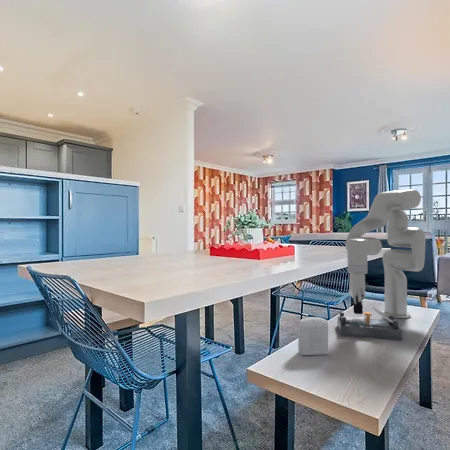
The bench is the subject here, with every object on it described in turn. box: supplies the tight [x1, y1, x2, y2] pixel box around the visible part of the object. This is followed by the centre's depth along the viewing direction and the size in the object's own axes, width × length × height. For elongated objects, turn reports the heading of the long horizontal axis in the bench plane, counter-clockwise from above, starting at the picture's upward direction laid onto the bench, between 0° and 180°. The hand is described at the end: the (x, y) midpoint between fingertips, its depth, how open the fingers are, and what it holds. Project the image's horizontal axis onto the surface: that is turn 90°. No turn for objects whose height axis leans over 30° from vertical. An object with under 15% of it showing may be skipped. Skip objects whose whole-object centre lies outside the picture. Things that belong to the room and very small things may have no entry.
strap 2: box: [372, 306, 395, 324], centre depth 125 cm, size 9×5×1 cm
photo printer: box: [297, 316, 329, 356], centre depth 107 cm, size 10×4×12 cm, turn 98°
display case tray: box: [336, 311, 403, 341], centre depth 127 cm, size 12×22×8 cm, turn 76°
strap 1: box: [341, 315, 366, 322], centre depth 128 cm, size 9×5×1 cm, turn 76°
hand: (358, 313), depth 128 cm, fingers closed
